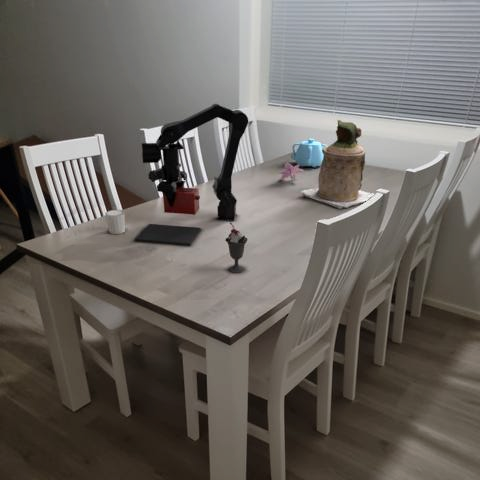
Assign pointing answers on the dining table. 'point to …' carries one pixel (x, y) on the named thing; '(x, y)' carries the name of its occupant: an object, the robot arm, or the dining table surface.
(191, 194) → the toaster
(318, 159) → the decorative pot
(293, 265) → the dining table surface
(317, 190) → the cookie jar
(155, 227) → the placemat
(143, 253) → the dining table surface
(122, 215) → the shot glass
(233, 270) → the sundae
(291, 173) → the lily
